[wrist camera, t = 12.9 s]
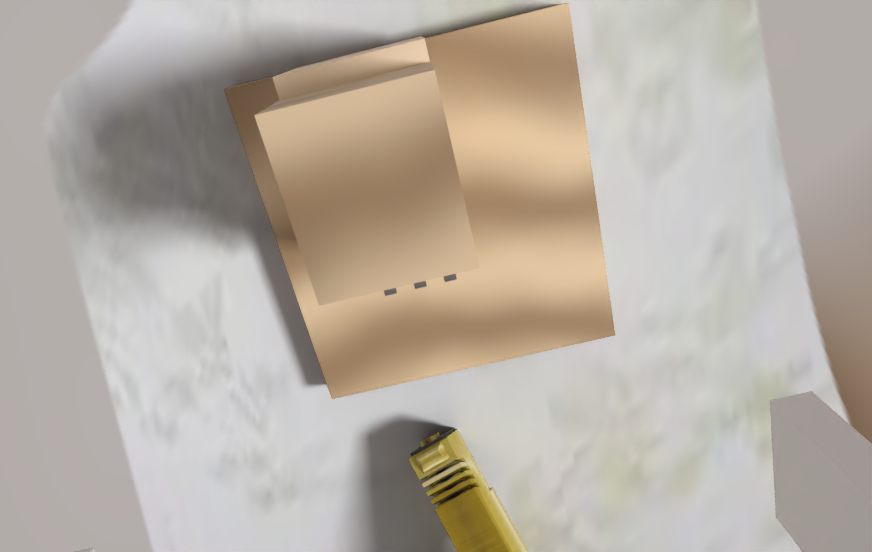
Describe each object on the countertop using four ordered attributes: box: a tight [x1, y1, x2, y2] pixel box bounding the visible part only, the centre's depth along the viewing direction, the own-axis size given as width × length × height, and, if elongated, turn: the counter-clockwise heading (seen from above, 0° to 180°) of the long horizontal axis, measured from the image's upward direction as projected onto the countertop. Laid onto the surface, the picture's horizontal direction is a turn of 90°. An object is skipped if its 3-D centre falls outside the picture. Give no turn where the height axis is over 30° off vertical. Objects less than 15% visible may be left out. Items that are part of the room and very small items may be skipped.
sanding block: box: [254, 36, 480, 306], centre depth 24 cm, size 8×6×9 cm
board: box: [224, 3, 615, 399], centre depth 30 cm, size 16×15×2 cm
